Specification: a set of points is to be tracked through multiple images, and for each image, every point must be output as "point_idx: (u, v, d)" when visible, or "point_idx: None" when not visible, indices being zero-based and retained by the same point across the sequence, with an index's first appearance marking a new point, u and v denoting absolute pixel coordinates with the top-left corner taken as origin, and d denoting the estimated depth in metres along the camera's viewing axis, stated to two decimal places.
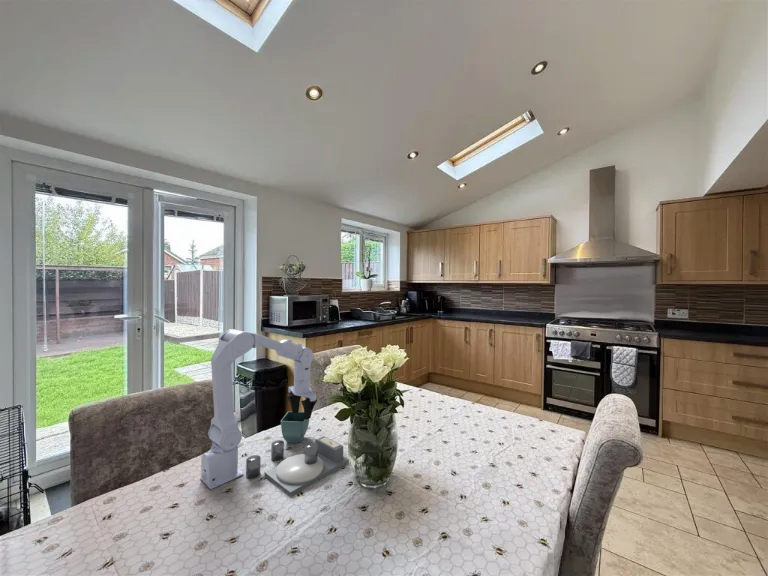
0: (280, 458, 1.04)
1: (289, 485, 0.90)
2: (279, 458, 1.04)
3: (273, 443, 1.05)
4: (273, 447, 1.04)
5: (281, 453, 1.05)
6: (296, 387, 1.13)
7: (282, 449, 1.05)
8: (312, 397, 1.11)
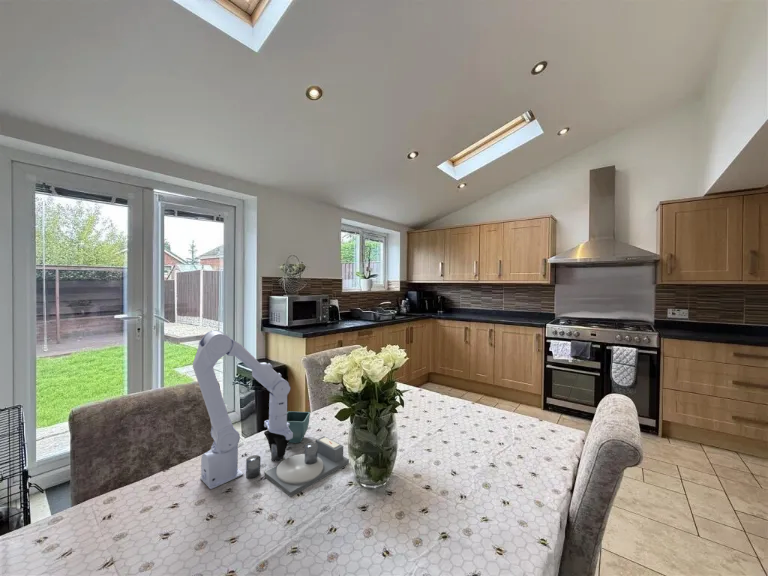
0: (280, 458, 1.04)
1: (289, 485, 0.90)
2: None
3: (273, 443, 1.05)
4: (273, 447, 1.04)
5: None
6: (271, 423, 1.03)
7: None
8: (288, 435, 1.00)
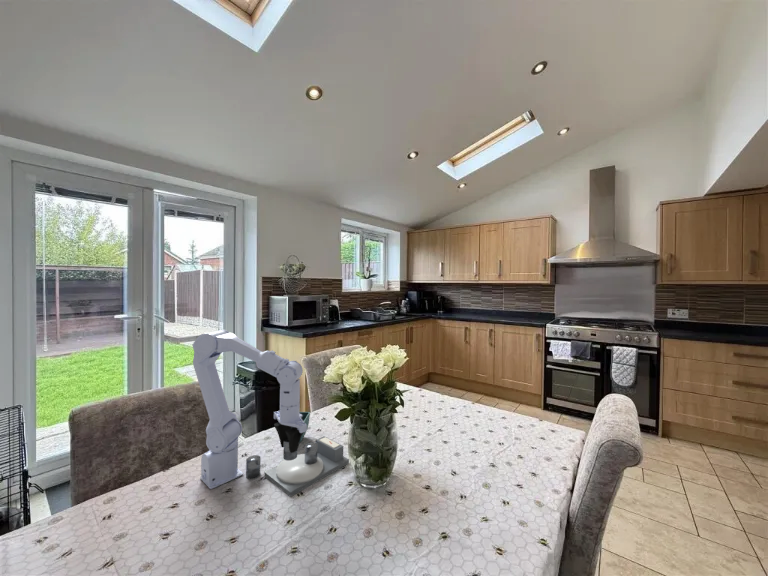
0: (294, 457, 0.93)
1: (289, 485, 0.90)
2: (293, 456, 0.93)
3: (285, 440, 0.94)
4: (286, 445, 0.93)
5: (295, 451, 0.94)
6: (282, 414, 0.91)
7: None
8: (302, 427, 0.89)
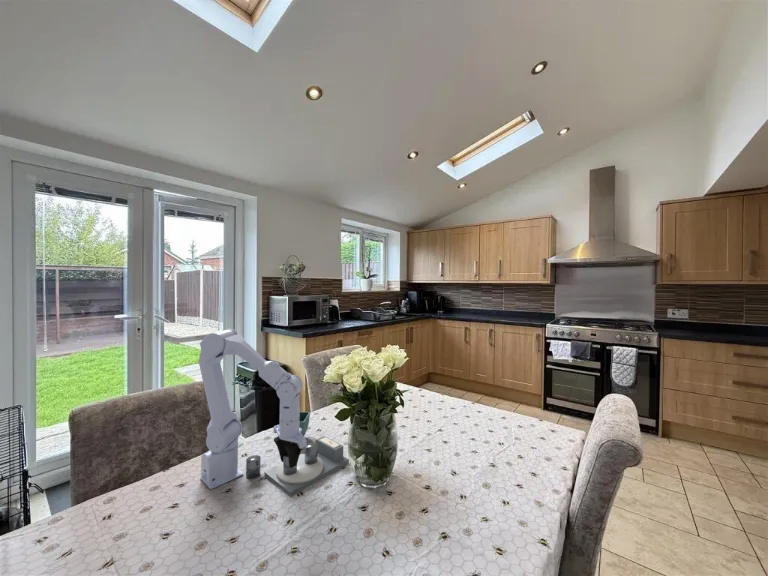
0: (294, 471, 0.93)
1: (289, 485, 0.90)
2: (293, 471, 0.93)
3: (285, 455, 0.94)
4: (286, 460, 0.93)
5: (295, 466, 0.94)
6: (282, 429, 0.91)
7: None
8: (301, 443, 0.89)
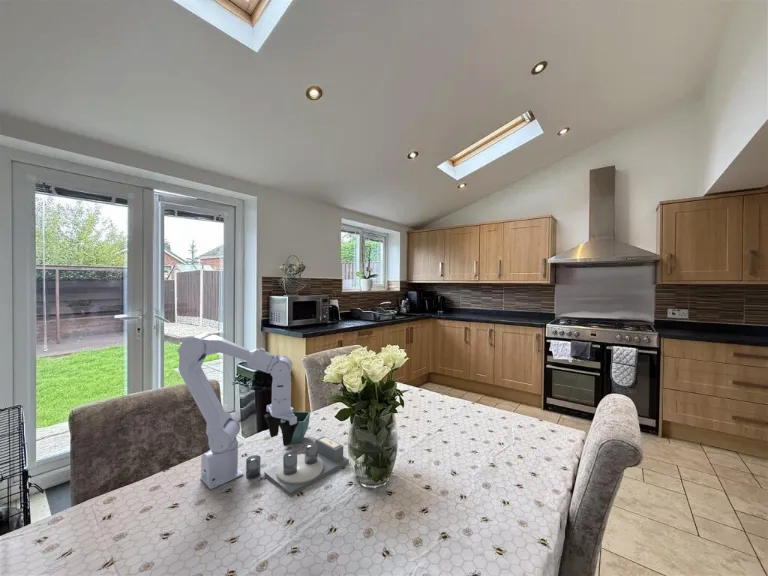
0: (294, 472, 0.93)
1: (289, 485, 0.90)
2: (293, 471, 0.93)
3: (285, 455, 0.94)
4: (286, 460, 0.93)
5: (295, 466, 0.94)
6: (274, 407, 0.95)
7: (296, 461, 0.94)
8: (292, 420, 0.93)
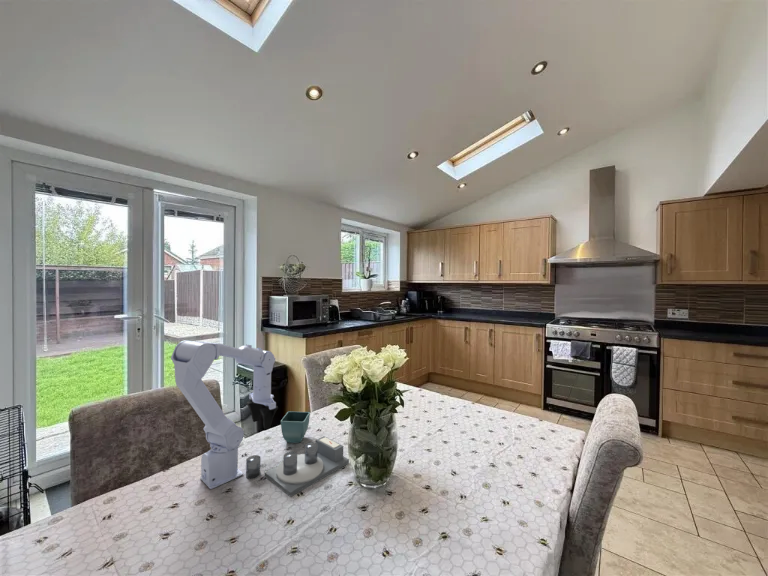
0: (294, 472, 0.93)
1: (289, 485, 0.90)
2: (293, 471, 0.93)
3: (285, 455, 0.94)
4: (286, 460, 0.93)
5: (295, 466, 0.94)
6: (255, 394, 1.06)
7: (296, 461, 0.94)
8: (271, 405, 1.03)
